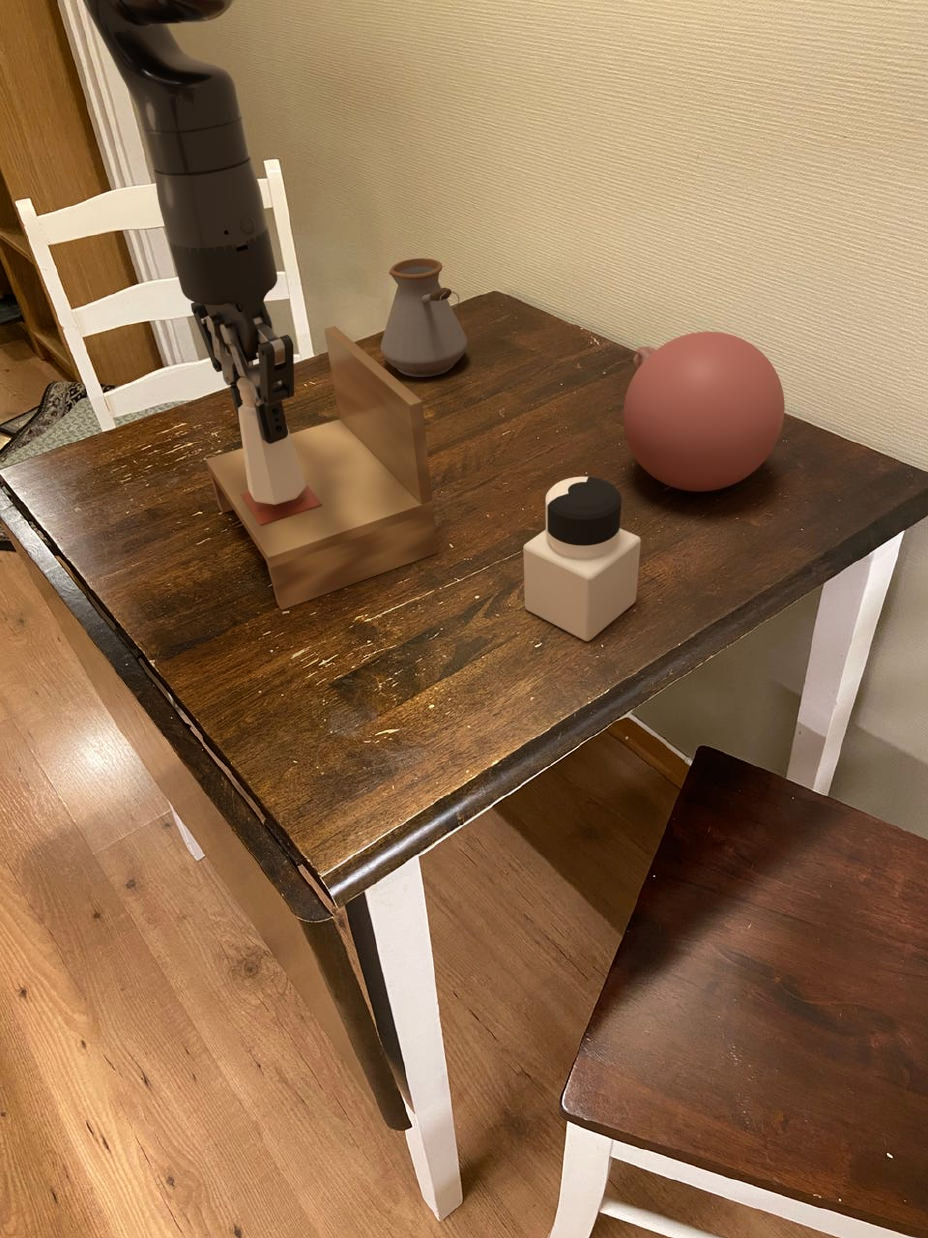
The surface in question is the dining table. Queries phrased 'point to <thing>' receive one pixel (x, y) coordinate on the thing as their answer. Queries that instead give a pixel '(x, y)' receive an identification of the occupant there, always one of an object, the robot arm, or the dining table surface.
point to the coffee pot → (422, 322)
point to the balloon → (703, 410)
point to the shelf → (343, 487)
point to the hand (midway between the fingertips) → (263, 429)
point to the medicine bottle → (581, 559)
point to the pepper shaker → (267, 457)
